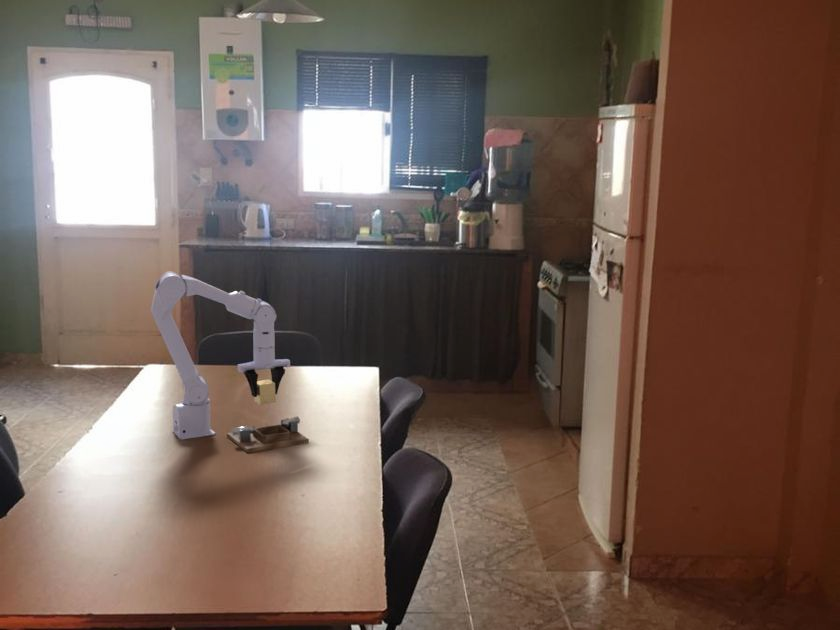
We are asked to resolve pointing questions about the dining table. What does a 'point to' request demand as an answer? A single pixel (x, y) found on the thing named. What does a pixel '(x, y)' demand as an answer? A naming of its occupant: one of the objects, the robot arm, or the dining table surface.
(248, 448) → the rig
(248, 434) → the shaft left
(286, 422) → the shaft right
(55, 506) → the dining table surface
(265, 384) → the block
